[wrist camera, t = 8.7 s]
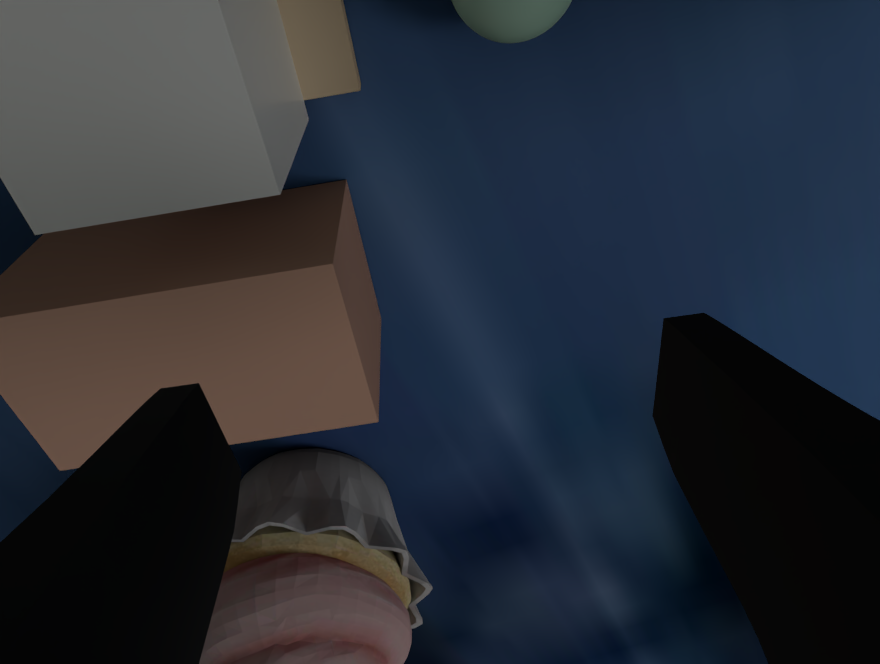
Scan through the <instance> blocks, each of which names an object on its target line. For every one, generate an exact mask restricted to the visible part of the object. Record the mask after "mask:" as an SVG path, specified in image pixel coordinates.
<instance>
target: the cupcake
mask: <svg viewBox="0 0 880 664" xmlns="http://www.w3.org/2000/svg"><path fill="white" fill-rule="evenodd" d="M432 588H433V587H432V586H431V584H430V583H429V581H428V580H427V578H426V577H425V575H424V574H423V572H422V571H421V569H420V568H419V566H418V565H417V563H416V562H415V561H414V559H413V558H412V556H411V555H410V553H409V552H408V550H407V547H406V544H405V542H404V539H403V536H402V533H401V530H400V527H399V524H398V522H397V519H396V515H395V511H394V508H393V504H392V501H391V497H390V494H389V491H388V489H387V486H386V484H385V483H384V481H383V480H382V478H381V477H380V476H379V475H378V474H377V473H376V472H375V471H374V470H373V469H372V468H371V467H369V466H368V465H367V464H365V463H364V462H362V461H361V460H359V459H357V458H355V457H352V456H350V455H347V454H344V453H340V452H336V451H332V450H326V449H320V448H314V449H297V450H291V451H286V452H281V453H278V454H276V455H273V456H271V457H269V458H267V459H265V460H263V461H262V462H260V463H259V464H257V465H256V466H255V467H254V468H252V469H251V470H250V471H249V472H248V473H246V474H245V475H244V477H243V478H242V480H241V481H240V489H239V498H238V507H237V514H236V521H235V528H234V533H233V537H232V541H231V545H230V549H229V553H228V557H227V561H226V565H225V569H224V572H223V576H222V580H221V584H220V588H219V591H218V595H217V599H216V602H215V606H214V610H213V613H212V617H211V621H210V625H209V628H208V632H207V636H206V640H205V643H204V647H203V651H202V654H201V658H200V662H199V664H404V662H405V660H406V658H407V656H408V653H409V650H410V646H411V641H412V630H411V629H412V628H416V627H417V626H419V625H421V624H422V617H421V615H420V613H419V611H418V609H417V606H416V604H417V603H418V602H420V601H421V600H422V599H423V598H424V597H425V596H427V595H428V594H429V593H430V591H431V590H432Z"/></svg>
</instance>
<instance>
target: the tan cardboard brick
mask: <svg viewBox="0 0 880 664" xmlns="http://www.w3.org/2000/svg"><path fill="white" fill-rule="evenodd" d="M380 344H381V316H380V312H379V308H378V304H377V300H376V296H375V292H374V288H373V284H372V280H371V276H370V272H369V268H368V264H367V260H366V256H365V252H364V248H363V244H362V240H361V236H360V232H359V228H358V224H357V220H356V216H355V212H354V208H353V204H352V200H351V196H350V192H349V188H348V184H347V180H341V181H335V182H329V183H323V184H317V185H311V186H305V187H299V188H293V189H287V190H282V192H281V194H280V195H275V196H269V197H263V198H257V199H251V200H245V201H239V202H233V203H227V204H221V205H214V206H208V207H202V208H196V209H190V210H184V211H178V212H172V213H166V214H160V215H154V216H148V217H142V218H136V219H129V220H123V221H117V222H111V223H105V224H99V225H93V226H87V227H81V228H75V229H69V230H63V231H57V232H51V233H45V234H43V235H42V236H41V237H40V238H39V239H38V240H37V241H36V242H35V243H34V244H33V245H32V246H31V247H30V248H28V249H27V250H26V251H25V252H24V253H23V254H22V255H21V256H20V257H19V258H18V259H17V260H16V261H15V262H14V263H13V264H12V265H11V266H10V267H9V268H8V269H7V270H6V271H5V272H3V273H2V274H1V275H0V394H1V396H2V397H3V398H4V400H5V401H6V402H7V403H8V405H9V406H10V407H11V409H12V410H13V411H14V412H15V414H16V415H17V416H18V418H19V419H20V420H21V421H22V423H23V424H24V425H25V427H26V428H27V429H28V430H29V432H30V433H31V434H32V436H33V437H34V438H35V439H36V441H37V442H38V443H39V445H40V446H41V447H42V448H43V450H44V451H45V452H46V454H47V455H48V456H49V457H50V459H51V460H52V461H53V463H54V464H55V465H56V466H57V468H58V469H59V470H60V471H62V470H68V469H75V468H79V467H80V466H81V465H82V464H83V463H84V462H85V461H86V460H87V459H88V458H89V457H90V456H91V455H92V454H93V453H94V452H96V451H97V450H98V449H99V448H100V446H101V445H102V444H103V443H104V442H105V441H106V440H107V439H108V438H109V437H110V436H111V435H112V434H113V433H114V432H115V431H116V430H117V429H118V428H119V427H120V426H121V425H122V424H123V423H124V422H125V421H126V420H127V419H128V418H129V417H130V416H132V415H133V414H134V413H135V412H136V411H137V410H138V409H139V408H140V407H141V406H142V405H143V404H144V403H145V402H146V401H147V400H148V399H149V398H150V397H151V396H153V395H154V394H155V393H156V392H157V391H158V390H159V389H160V388H167V387H174V386H181V385H188V384H196V383H199V384H200V386H201V388H202V390H203V392H204V395H205V397H206V399H207V401H208V403H209V405H210V407H211V409H212V411H213V413H214V415H215V417H216V419H217V422H218V424H219V426H220V428H221V430H222V432H223V434H224V436H225V438H226V440H227V442H228V444H229V445H231V444H238V443H245V442H251V441H258V440H264V439H271V438H277V437H284V436H290V435H297V434H303V433H310V432H316V431H323V430H330V429H336V428H343V427H349V426H356V425H362V424H369V423H375V422H378V421H379V383H380Z"/></svg>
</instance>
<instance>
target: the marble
mask: <svg viewBox="0 0 880 664" xmlns="http://www.w3.org/2000/svg"><path fill="white" fill-rule="evenodd" d="M451 1H452V3H453V5H454V8H455V10H456V11H457V13H458V14H459V16H460V17H461V19H462V20H463V21H464V22H465V23H466V24H467V25H468V26H469V27H470V28H471V29H472V30H473V31H475V32H476V33H477V34H479V35H481V36H482V37H484V38H486V39H489V40H492V41H495V42H500V43H518V42H523V41H527V40H530V39H533V38H535V37H537V36H539V35H541V34H543V33H544V32H546V31H547V30H548V29H550V28H551V27H552V26H553V25H554V24H555V23H556V22H558V20H559V19H560V18H561V17H562V16H563V14H564V13H565V12H566V10H567V9H568V7H569V5H570V3H571V1H572V0H451Z"/></svg>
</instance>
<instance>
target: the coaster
mask: <svg viewBox="0 0 880 664" xmlns="http://www.w3.org/2000/svg"><path fill="white" fill-rule="evenodd" d="M277 3H278V7H279V11H280V14H281V18H282V22H283V26H284V29H285V33H286V37H287V40H288V44H289V48H290V51H291V55H292V59H293V63H294V66H295V70H296V74H297V77H298V81H299V85H300V89H301V92H302V96H303V100H309V99H314V98H320V97H326V96H332V95H338V94H344V93H349V92H355V91H360V89H361V82H360V77H359V73H358V68H357V63H356V59H355V54H354V49H353V45H352V40H351V35H350V31H349V26H348V21H347V17H346V12H345V7H344V2H343V0H277Z"/></svg>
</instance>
